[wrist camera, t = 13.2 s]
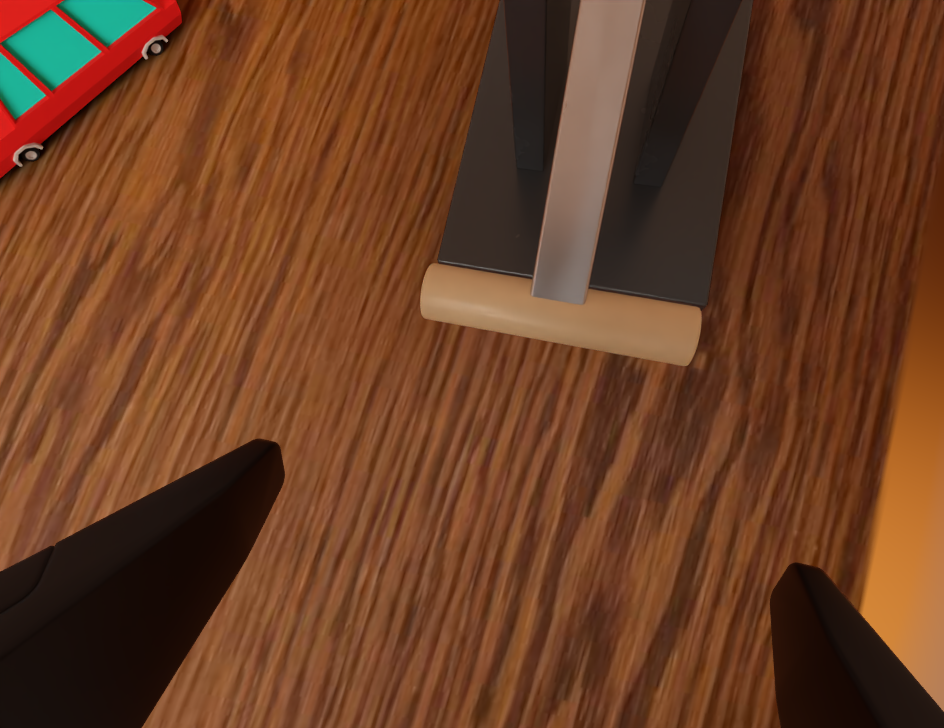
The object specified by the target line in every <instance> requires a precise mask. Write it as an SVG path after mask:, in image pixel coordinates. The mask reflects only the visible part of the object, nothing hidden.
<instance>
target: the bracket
mask: <svg viewBox="0 0 944 728" xmlns="http://www.w3.org/2000/svg"><path fill="white" fill-rule="evenodd" d="M579 5H580V0H500V2H499V6H498V10H497V14H496V18H495V22H494V26H493V31H492V35H491V39H490V43H489V47H488V51H487V56H486V60H485V64H484V68H483V72H482V76H481V80H480V85H479V89H478V93H477V97H476V101H475V105H474V110H473V114H472V118H471V122H470V126H469V130H468V134H467V139H466V143H465V147H464V151H463V155H462V159H461V164H460V168H459V172H458V176H457V180H456V184H455V188H454V193H453V197H452V201H451V205H450V209H449V213H448V218H447V222H446V226H445V230H444V234H443V238H442V243H441V247H440V251H439V255H438V259H437V260H438V263H439V264H442V265H448V266H454V267H460V268H466V269H472V270H478V271H484V272H490V273H496V274H502V275H509V276H515V277H521V278H527V279H533V273H534V267H535V261H536V256H537V250H538V244H539V238H540V232H541V226H542V221H543V215H544V209H545V203H546V197H547V191H548V186H549V180H550V174H551V168H552V162H553V156H554V150H555V145H556V139H557V133H558V127H559V121H560V115H561V110H562V104H563V98H564V92H565V86H566V80H567V75H568V69H569V63H570V57H571V51H572V45H573V40H574V34H575V28H576V22H577V16H578V10H579ZM752 6H753V0H646V4H645V9H644V14H643V19H642V24H641V29H640V34H639V39H638V44H637V49H636V54H635V59H634V64H633V69H632V74H631V79H630V84H629V89H628V94H627V99H626V104H625V109H624V114H623V119H622V123H621V128H620V133H619V138H618V143H617V148H616V153H615V158H614V163H613V168H612V173H611V178H610V183H609V188H608V193H607V198H606V203H605V208H604V213H603V218H602V223H601V228H600V233H599V238H598V243H597V248H596V253H595V258H594V263H593V268H592V273H591V278H590V283H589V288H588V289H593V290H599V291H605V292H611V293H617V294H623V295H629V296H635V297H641V298H647V299H653V300H659V301H665V302H671V303H677V304H683V305H689V306H695V307H698V308H700V310H701V311H702V310H703V309H704V308H705V307H706V306H707V304H708V299H709V292H710V285H711V279H712V272H713V265H714V259H715V252H716V245H717V239H718V232H719V226H720V219H721V212H722V206H723V199H724V192H725V186H726V179H727V172H728V166H729V159H730V152H731V146H732V139H733V133H734V126H735V119H736V113H737V106H738V99H739V93H740V86H741V79H742V73H743V66H744V60H745V53H746V46H747V40H748V33H749V26H750V20H751V13H752Z"/></svg>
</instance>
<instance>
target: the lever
mask: <svg viewBox="0 0 944 728" xmlns="http://www.w3.org/2000/svg"><path fill="white" fill-rule="evenodd" d="M645 4H646V0H580V5H579V10H578V16H577V22H576V28H575V34H574V40H573V45H572V51H571V57H570V63H569V69H568V75H567V80H566V86H565V92H564V98H563V104H562V110H561V115H560V121H559V127H558V133H557V139H556V145H555V150H554V156H553V162H552V168H551V174H550V180H549V186H548V191H547V197H546V203H545V209H544V215H543V221H542V226H541V232H540V238H539V244H538V250H537V256H536V261H535V267H534V273H533V279H527V278H521V277H515V276H509V275H502V274H496V273H490V272H484V271H478V270H472V269H466V268H460V267H454V266H448V265H442V264H436V263H433V264H431V265H430V266H429V267H428V269H427V271H426V273H425V276H424V279H423V283H422V288H421V296H420V310H421V315H422V317H423V318H425V319H429V320H434V321H440V322H445V323H451V324H456V325H462V326H467V327H473V328H478V329H484V330H489V331H494V332H500V333H505V334H511V335H516V336H522V337H527V338H533V339H538V340H544V341H549V342H554V343H560V344H565V345H571V346H576V347H582V348H587V349H593V350H598V351H604V352H609V353H615V354H620V355H625V356H631V357H636V358H642V359H647V360H653V361H658V362H664V363H669V364H675V365H680V366H687V365H688V364H689V363H690V362H691V360H692V358H693V356H694V354H695V351H696V348H697V345H698V341H699V337H700V331H701V323H702V316H701V310H700V308H698V307H695V306H689V305H683V304H677V303H671V302H665V301H659V300H653V299H647V298H641V297H635V296H629V295H623V294H617V293H611V292H605V291H599V290H593V289H588V288H589V283H590V278H591V273H592V268H593V263H594V258H595V253H596V248H597V243H598V238H599V233H600V228H601V223H602V218H603V213H604V208H605V203H606V198H607V193H608V188H609V183H610V178H611V173H612V168H613V163H614V158H615V153H616V148H617V143H618V138H619V133H620V128H621V123H622V119H623V114H624V109H625V104H626V99H627V94H628V89H629V84H630V79H631V74H632V69H633V64H634V59H635V54H636V49H637V44H638V39H639V34H640V29H641V24H642V19H643V14H644V9H645Z"/></svg>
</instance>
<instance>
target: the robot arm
mask: <svg viewBox="0 0 944 728" xmlns="http://www.w3.org/2000/svg"><path fill="white" fill-rule="evenodd" d="M284 478H285V471H284V466H283V460H282V454H281V449H280V446H279V445H278V443H276V442H273V441H269V440H264V439H255V440H252V441H250V442H248V443H246V444H245V445H243V446H241V447H239V448H237V449H235V450H233V451H231V452H229V453H227V454H225V455H224V456H222V457H220V458H218V459H216V460H214V461H212V462H210V463H208V464H206V465H204V466H203V467H201V468H199V469H197V470H195V471H193V472H191V473H189V474H187V475H185V476H183V477H181V478H180V479H178V480H176V481H174V482H172V483H170V484H168V485H166V486H164V487H162V488H160V489H159V490H157V491H155V492H153V493H151V494H149V495H147V496H145V497H143V498H141V499H139V500H138V501H136V502H134V503H132V504H130V505H128V506H126V507H124V508H122V509H120V510H118V511H117V512H115V513H113V514H111V515H109V516H107V517H105V518H103V519H101V520H99V521H97V522H96V523H94V524H92V525H90V526H88V527H86V528H84V529H82V530H80V531H78V532H76V533H75V534H73V535H71V536H69V537H67V538H65V539H63V540H61V541H59V542H57V543H56V545H55V547H54V546H49V547H47V548H46V549H44V550H42V551H40V552H38V553H36V554H34V555H32V556H30V557H28V558H26V559H24V560H22V561H20V562H19V563H17V564H15V565H13V566H11V567H9V568H7V569H5V570H3V571H1V572H0V728H142V726H143V725H144V723H145V721H146V720H147V718H148V717H149V715H150V713H151V712H152V710H153V709H154V707H155V705H156V704H157V702H158V701H159V699H160V697H161V696H162V694H163V693H164V691H165V689H166V688H167V686H168V685H169V683H170V681H171V680H172V678H173V677H174V675H175V673H176V672H177V670H178V668H179V667H180V665H181V664H182V662H183V660H184V659H185V657H186V656H187V654H188V652H189V651H190V649H191V648H192V646H193V644H194V643H195V641H196V640H197V638H198V636H199V635H200V633H201V632H202V630H203V628H204V627H205V625H206V624H207V622H208V620H209V619H210V617H211V616H212V614H213V612H214V611H215V609H216V607H217V606H218V604H219V603H220V601H221V599H222V598H223V596H224V595H225V593H226V591H227V590H228V588H229V587H230V585H231V583H232V582H233V580H234V579H235V577H236V575H237V574H238V572H239V571H240V569H241V567H242V566H243V564H244V562H245V560H246V559H247V557H248V555H249V553H250V551H251V549H252V547H253V545H254V543H255V541H256V539H257V537H258V535H259V533H260V531H261V529H262V527H263V525H264V523H265V521H266V519H267V517H268V515H269V512H270V510H271V508H272V506H273V504H274V502H275V500H276V498H277V496H278V494H279V492H280V490H281V488H282V485H283V483H284ZM770 614H771V629H772V645H773V661H774V676H775V690H776V701H777V707H778V714H779V720H780V726H781V728H944V712H943V710H941V708H940V707H939V706H938V705H937V703H936V702H935V701H934V700H933V699H932V697H931V696H930V695H929V694H928V693H927V692H926V690H925V689H924V688H923V687H922V686H921V685H920V683H919V682H918V681H917V680H916V679H915V678H914V676H913V675H912V674H911V673H910V672H909V670H908V669H907V668H906V667H905V666H904V665H903V663H902V662H901V661H900V660H899V659H898V657H897V656H896V655H895V654H894V653H893V652H892V651H891V650H890V648H889V647H888V646H887V645H886V643H885V642H884V641H883V640H882V639H881V637H880V636H879V635H878V634H877V633H876V632H875V630H874V629H873V628H872V627H871V626H870V625H869V623H868V622H867V621H866V620H865V619H864V618H863V616H862V615H861V614H860V613H859V612H858V610H857V609H856V608H855V607H854V606H853V605H852V603H851V602H850V601H849V600H848V599H847V598H846V596H845V595H844V594H843V593H842V592H841V590H840V589H839V588H838V587H837V586H836V585H835V583H834V582H833V581H832V580H831V579H830V578H829V576H828V575H827V574H826V573H825V572H824V571H823V570H822V569H820V568H818V567H814V566H810V565H806V564H801V563H792V564H790V565H789V566H788V568H787V569H786V571H785V572H784V574H783V575H782V577H781V578H780V580H779V582H778V583H777V585H776V586H775V588H774V589H773V591H772V594H771V598H770Z"/></svg>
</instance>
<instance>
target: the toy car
mask: <svg viewBox="0 0 944 728" xmlns="http://www.w3.org/2000/svg"><path fill="white" fill-rule="evenodd" d="M181 23H182V17H181V11H180V9H179V6H178V4H177V1H176V0H0V178H1V177H3V176H4V175H5V174H6V173H7V172H8V171H10V170H11V169H12V168H13V167H14V166H15V165H18V166H20V167H22V166H23V165H22V163H21V162H20V161H19V160H18V155H19V154H20V156H21V158H22V159H24V160H25V161H35V160H38V158H39V156H40V152H39V150H38V149H37V148H39V149H41V150H42V149H43V146H42V145H41V143H42V142H43V141H45V140H46V139H47V138H48V137H49V136H50V135H52V134H53V133H54V132H55V131H56V130H57V129H59V128H60V127H61V126H62V125H63V124H64V123H66V122H67V121H68V120H69V119H70V118H71V117H73V116H74V115H75V114H76V113H77V112H78V111H80V110H81V109H82V108H83V107H84V106H85V105H87V104H88V103H89V102H90V101H91V100H92V99H94V98H95V97H96V96H97V95H98V94H99V93H101V92H102V91H103V90H104V89H105V88H106V87H108V86H109V85H110V84H111V83H112V82H113V81H115V80H116V79H117V78H118V77H119V76H120V75H122V74H123V73H124V72H125V71H126V70H127V69H129V68H130V67H131V66H132V65H133V64H134V63H136V62H137V61H138V60H139V59H140V58H141V57H144V58H145V59H146V60H147V59H148V56H147V54H146V52H147V51H148V52H149V53H150V54H151V55H156V56H157V55H159V54H161V53H162V51H163V43H162V42H161V41H160V40H161V39H163V40H164V41H165V42H166V43H167V42H168V40H167V39H166V36H167V35H168V34H169V33H171V32H172V31H173V30H174V29H175V28H176V27H178V26H179V25H180V24H181ZM35 147H36V148H35Z"/></svg>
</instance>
